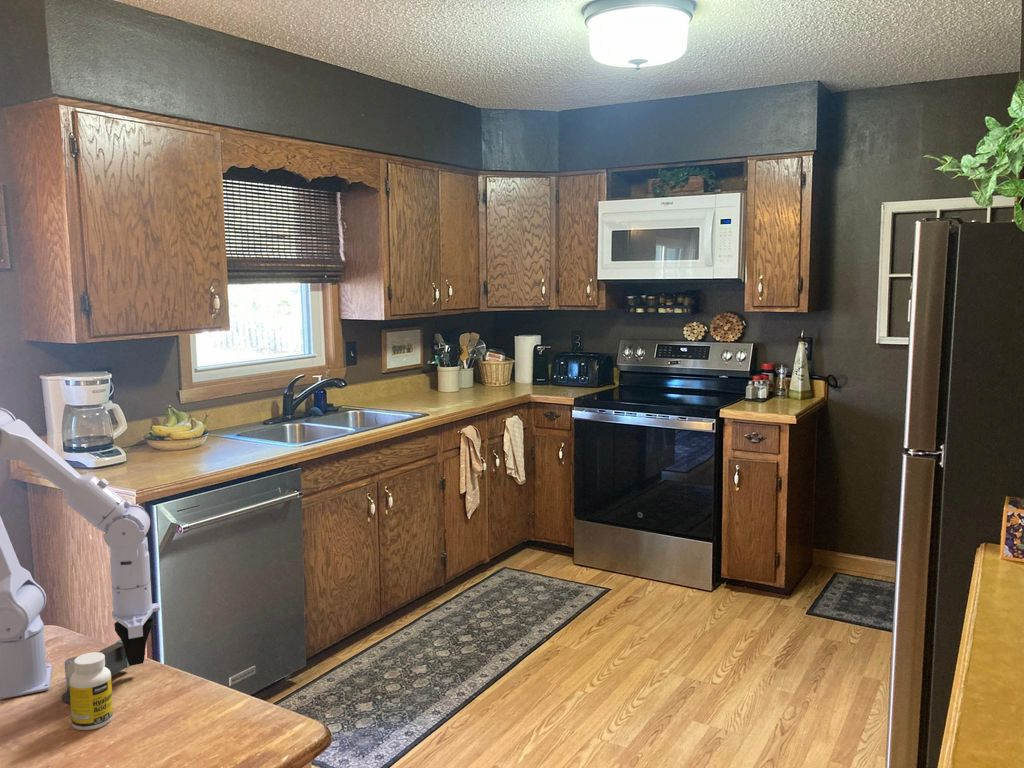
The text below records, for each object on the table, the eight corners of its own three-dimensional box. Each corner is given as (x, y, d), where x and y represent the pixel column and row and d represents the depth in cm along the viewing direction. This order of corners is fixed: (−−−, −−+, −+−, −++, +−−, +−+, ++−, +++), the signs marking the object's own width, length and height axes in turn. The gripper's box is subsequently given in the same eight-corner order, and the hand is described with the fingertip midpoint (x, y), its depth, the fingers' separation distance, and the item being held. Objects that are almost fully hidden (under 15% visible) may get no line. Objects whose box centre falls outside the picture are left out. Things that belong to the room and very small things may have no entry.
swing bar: (76, 697, 128) (74, 666, 127) (62, 694, 129) (59, 663, 128) (135, 665, 138) (133, 636, 137) (121, 662, 139) (119, 633, 138)
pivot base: (62, 693, 131) (62, 690, 131) (93, 687, 133) (93, 683, 133) (61, 706, 127) (61, 702, 127) (94, 700, 129) (93, 696, 129)
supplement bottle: (96, 733, 119) (92, 668, 118) (63, 729, 121) (58, 664, 119) (121, 714, 125) (117, 651, 123) (89, 710, 126) (85, 648, 124)
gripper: (161, 593, 130) (166, 676, 132) (155, 565, 143) (159, 641, 145) (111, 601, 127) (116, 686, 129) (109, 571, 140) (114, 649, 142)
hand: (136, 663), depth 137 cm, fingers closed
